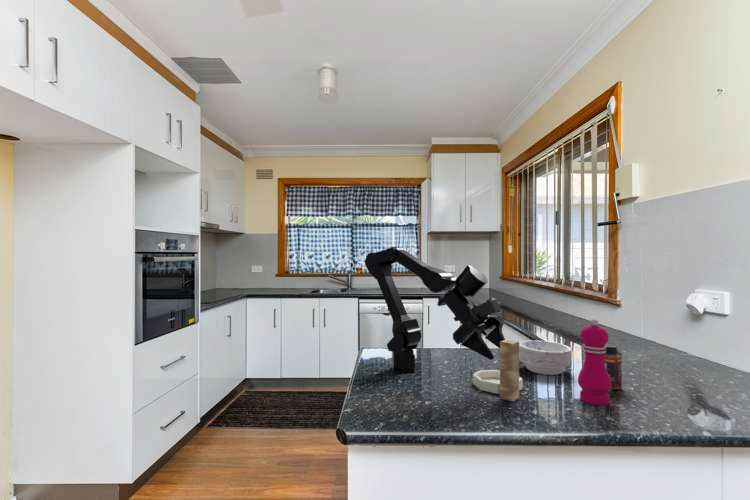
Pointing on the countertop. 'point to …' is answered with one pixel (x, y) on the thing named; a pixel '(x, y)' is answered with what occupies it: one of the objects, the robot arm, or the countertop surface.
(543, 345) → the paper bowls
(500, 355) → the tall wooden post
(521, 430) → the countertop surface
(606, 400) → the pepper mill
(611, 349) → the supplement bottle
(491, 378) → the bowl
